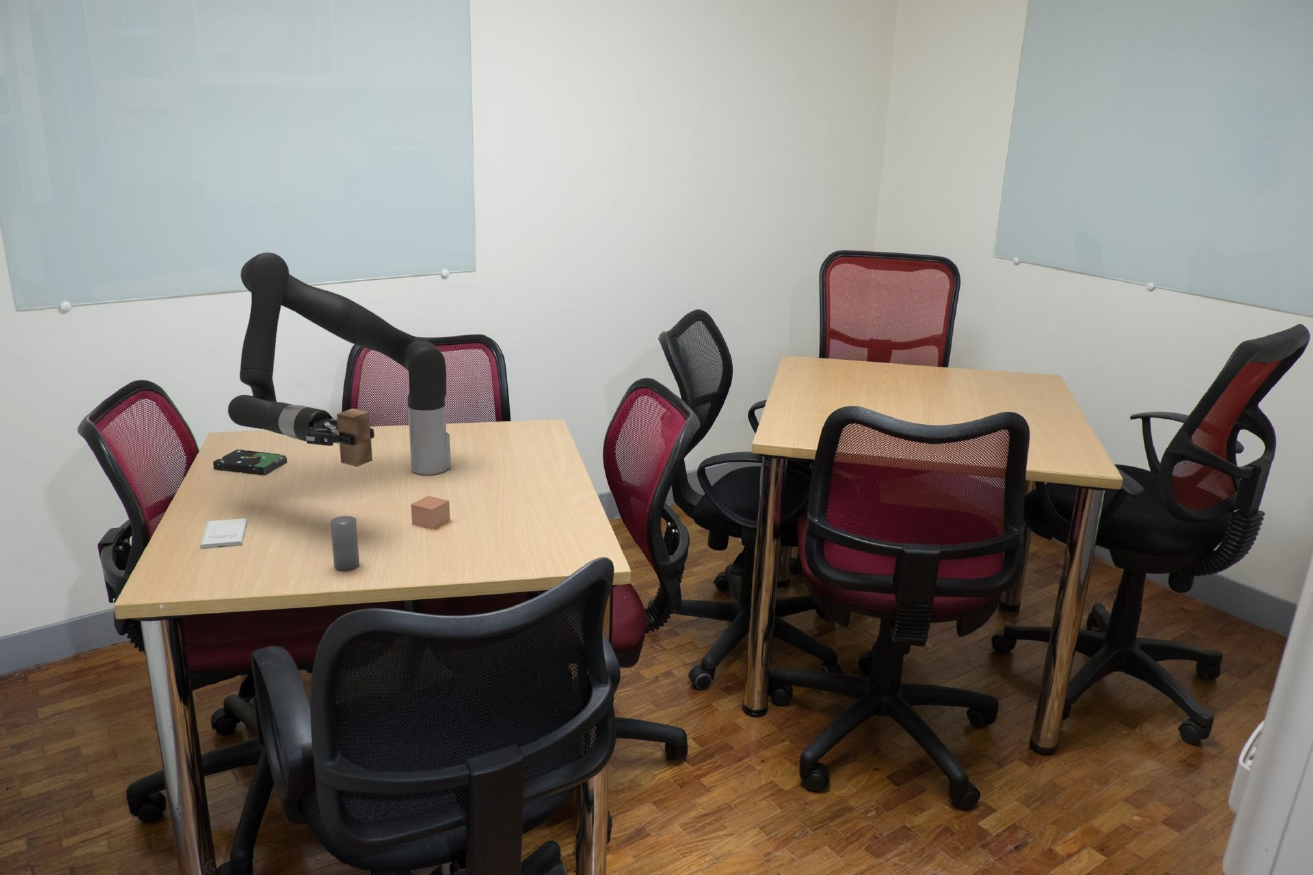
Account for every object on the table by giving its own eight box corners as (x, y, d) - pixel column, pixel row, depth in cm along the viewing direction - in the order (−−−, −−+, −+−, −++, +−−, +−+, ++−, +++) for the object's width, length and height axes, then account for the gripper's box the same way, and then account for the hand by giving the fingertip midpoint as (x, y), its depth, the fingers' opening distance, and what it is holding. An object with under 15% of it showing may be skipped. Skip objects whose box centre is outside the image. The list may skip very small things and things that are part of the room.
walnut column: (356, 456, 219) (352, 408, 215) (372, 460, 217) (368, 411, 213) (341, 462, 215) (336, 413, 211) (357, 466, 213) (353, 417, 209)
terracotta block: (429, 515, 232) (428, 495, 230) (450, 520, 229) (449, 500, 228) (412, 524, 227) (410, 504, 225) (433, 530, 224) (432, 509, 223)
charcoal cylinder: (353, 558, 210) (350, 514, 206) (363, 566, 206) (360, 522, 203) (330, 564, 207) (326, 519, 203) (339, 573, 203) (336, 527, 200)
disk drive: (213, 472, 255) (265, 477, 253) (211, 461, 254) (264, 466, 252) (237, 458, 265) (288, 463, 262) (236, 448, 264) (287, 453, 261)
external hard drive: (247, 524, 226) (242, 547, 214) (208, 527, 223) (200, 551, 212) (246, 518, 225) (241, 540, 214) (207, 521, 223) (199, 543, 212)
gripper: (278, 416, 213) (338, 429, 205) (328, 399, 225) (386, 411, 217) (281, 449, 215) (341, 464, 208) (331, 430, 227) (389, 444, 220)
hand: (364, 437), depth 213 cm, fingers closed on walnut column, 4 cm apart
